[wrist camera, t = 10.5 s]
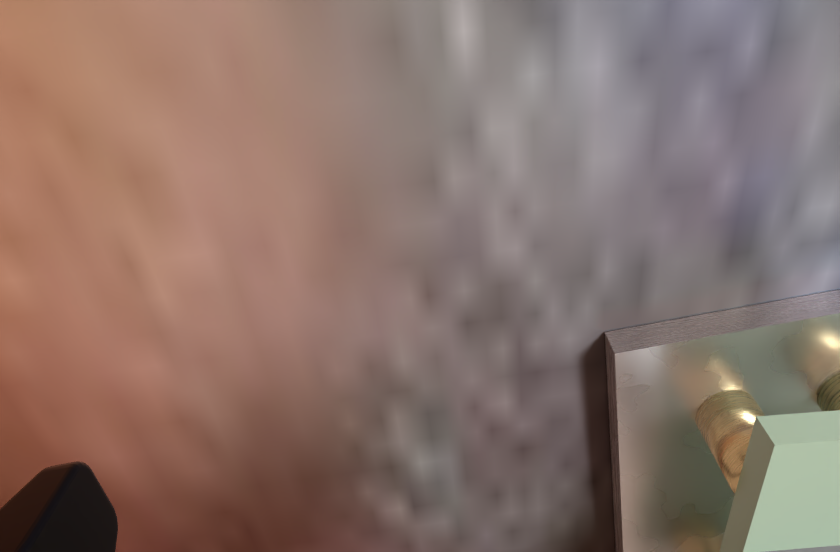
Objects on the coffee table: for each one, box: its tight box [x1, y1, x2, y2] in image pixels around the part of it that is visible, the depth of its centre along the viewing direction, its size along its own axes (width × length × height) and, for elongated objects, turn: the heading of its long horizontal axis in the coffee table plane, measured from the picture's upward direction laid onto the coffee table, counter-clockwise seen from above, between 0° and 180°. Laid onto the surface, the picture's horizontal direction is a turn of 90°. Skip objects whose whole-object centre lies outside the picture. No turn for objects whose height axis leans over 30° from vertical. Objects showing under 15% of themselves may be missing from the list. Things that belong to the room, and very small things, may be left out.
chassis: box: [605, 290, 840, 552], centre depth 24 cm, size 14×10×4 cm
